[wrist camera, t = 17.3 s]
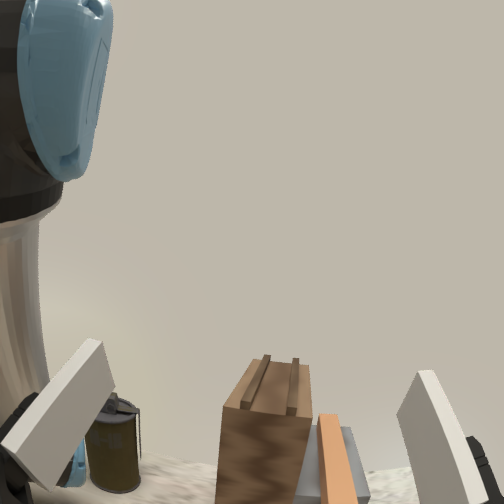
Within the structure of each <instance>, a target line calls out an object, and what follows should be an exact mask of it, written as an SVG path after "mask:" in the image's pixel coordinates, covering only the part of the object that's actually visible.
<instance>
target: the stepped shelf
mask: <svg viewBox="0 0 504 504" xmlns="http://www.w3.org/2000/svg"><path fill="white" fill-rule="evenodd" d="M270 357H271V355H264V357H263V359H262V360H257V359H253V361H252V362H251V364H250V365H249V367H248V368H247V370H246V372H245V373H244V375H243V376H242V378H241V379H240V381H239V382H238V384H237V386H236V387H235V389H234V390H233V392H232V393H231V395H230V396H229V398H228V399H227V401H226V402H225V404H224V405H223V413H222V423H221V435H220V446H219V458H218V469H217V482H216V494H215V504H321V491H320V474H319V459H318V445H317V432H316V427H317V425H311V424H312V418H313V417H312V416H313V415H312V400H311V387H310V374H309V365H300V364H299V358H293V361H292V364H291V363H282V362H272V361H270ZM340 428H341V432H342V436H343V440H344V444H345V448H346V452H347V456H348V461H349V465H350V469H351V474H352V478H353V482H354V487H355V491H356V496H357V500H358V504H368V502H369V499H370V497H371V495H370V491H369V488H368V484H367V481H366V477H365V474H364V471H363V467H362V464H361V461H360V457H359V454H358V451H357V447H356V444H355V441H354V437H353V434H352V431H351V428H350V427H340Z"/></svg>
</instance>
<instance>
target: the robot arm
mask: <svg viewBox="0 0 504 504" xmlns="http://www.w3.org/2000/svg"><path fill="white" fill-rule="evenodd" d="M112 30H113V10H112V6H111V3H110V1H109V0H0V504H33V500H32V495H31V490H30V486H29V483H28V482H34V483H36V484H37V485H39V486H40V487H42V488H44V489H45V490H47V491H49V492H52V490H53V489H54V487H55V486H60V487H63V488H67V487H81V486H83V485H84V483H85V481H86V466H85V446H84V436H85V434H86V433H87V431H88V430H89V428H90V426H91V425H92V423H93V421H94V420H95V418H96V417H97V415H98V413H99V412H100V410H101V409H102V407H103V406H104V404H105V402H106V401H107V399H108V398H109V396H110V394H111V393H112V391H113V390H114V388H115V384H114V381H113V378H112V374H111V371H110V368H109V364H108V361H107V357H106V354H105V350H104V346H103V343H102V341H98V340H94V339H90V338H88V339H87V340H86V341H85V342H84V343H83V344H82V345H81V347H80V348H79V349H78V350H77V351H76V352H75V353H74V354H73V356H72V357H71V358H70V359H69V360H68V361H67V362H66V364H65V365H64V366H63V367H62V368H61V369H60V370H59V372H58V373H57V374H56V375H55V376H54V377H53V379H52V380H51V381H50V380H49V374H48V369H47V363H46V357H45V351H44V343H43V336H42V326H41V315H40V303H39V284H38V237H39V235H38V234H39V221H40V220H41V219H42V218H44V217H45V216H46V215H47V214H48V213H49V212H51V211H52V210H53V209H54V208H55V207H56V206H57V205H58V204H59V202H60V200H61V197H62V190H63V183H64V182H69V181H70V180H72V179H77V178H79V177H81V176H82V175H83V174H84V172H85V170H86V168H87V166H88V162H89V159H90V155H91V151H92V145H93V138H94V132H95V128H96V125H97V120H98V115H99V109H100V104H101V98H102V92H103V87H104V81H105V75H106V69H107V64H108V58H109V51H110V45H111V38H112ZM397 418H398V421H399V424H400V428H401V431H402V434H403V438H404V441H405V445H406V449H407V452H408V456H409V460H410V464H411V467H412V471H413V475H414V479H415V484H416V488H417V492H418V496H419V501H420V504H504V497H503V496H502V495H501V493H500V491H499V488H498V485H497V482H496V480H495V477H494V474H493V472H492V469H491V467H490V465H488V463H489V462H488V460H487V457H485V453H484V450H483V448H482V446H481V444H480V443H479V442H478V441H477V440H476V439H475V438H474V437H473V436H470V437H466V438H465V436H464V434H463V432H462V429H461V427H460V425H459V423H458V420H457V418H456V416H455V414H454V412H453V410H452V407H451V405H450V403H449V401H448V399H447V397H446V395H445V393H444V391H443V389H442V387H441V385H440V383H439V381H438V379H437V377H436V375H435V373H434V371H433V370H423V371H417V374H416V376H415V378H414V380H413V382H412V384H411V386H410V389H409V391H408V393H407V395H406V397H405V399H404V401H403V403H402V405H401V407H400V409H399V410H398V412H397Z"/></svg>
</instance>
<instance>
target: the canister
mask: <svg viewBox="0 0 504 504" xmlns="http://www.w3.org/2000/svg"><path fill="white" fill-rule="evenodd" d="M136 414H138V415H139V443H140V460H141V439H140V410H139V409H138V408H136V407H135V406H134V405H132V404H131V403H130V402H129V401H126V400H124V399H121V398H118V396H117V393H114V392H112V393H111V394H110V396H109V398H108V399H107V401H106V402H105V404H104V406H103V407H102V409H101V410H100V412H99V413H98V415H97V417H96V418H95V420H94V421H93V423H92V425H91V426H90V428H89V430H88V431H87V433H86V434H85V443H86V450H87V456H88V462H89V467H90V477H91V480H92V482H93V483H94V484H95V485H96V486H97V487H99V488H100V489H102V490H105V491H108V492H112V493H126V492H130V491H132V490H134V489H136V488H137V487H138V486H139V484H140V481H141V478H140V476H139V469H138V455H137V437H136Z"/></svg>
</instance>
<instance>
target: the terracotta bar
mask: <svg viewBox="0 0 504 504" xmlns="http://www.w3.org/2000/svg"><path fill="white" fill-rule="evenodd" d="M316 432H317V445H318V459H319V474H320V491H321V504H358V500H357V496H356V491H355V487H354V482H353V478H352V474H351V469H350V465H349V461H348V456H347V452H346V448H345V444H344V440H343V436H342V432H341V428H340V424H339V420H338V416H337V415H335V414H319V417H318V422H317V427H316Z"/></svg>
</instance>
